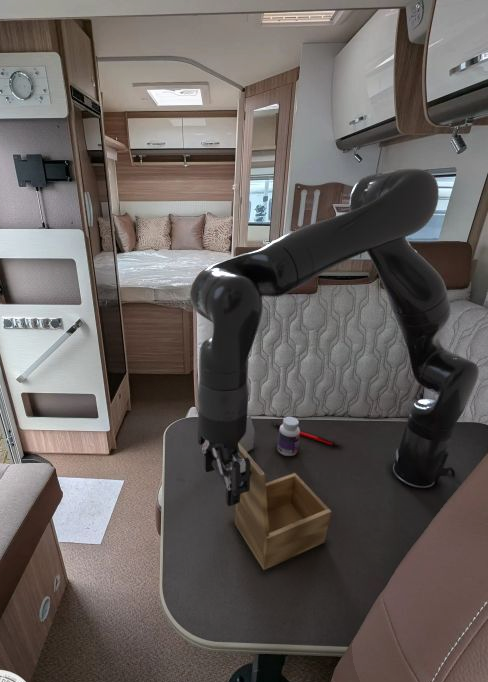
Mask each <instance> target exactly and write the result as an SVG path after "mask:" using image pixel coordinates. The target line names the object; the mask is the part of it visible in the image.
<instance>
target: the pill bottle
mask: <svg viewBox="0 0 488 682" xmlns="http://www.w3.org/2000/svg"><path fill="white" fill-rule="evenodd" d="M299 422H300V421H299V420H298V419H297V418H296V417H294V416H286V417H284V418H283V420H282V424H280V425H281V426H280V428H279V429H278V437H277V439H278V440H277V448H276V449H277V452H278V453H279V454H281V455H282V456H285V457H292V456H295V455H296V454H297V453H298V448H299V442H300V436H301V435H300V432H301V429H300V427H299Z"/></svg>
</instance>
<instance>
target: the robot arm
mask: <svg viewBox="0 0 488 682" xmlns="http://www.w3.org/2000/svg"><path fill="white" fill-rule="evenodd" d="M438 184H439V183H438V180H437V179H436V177H435V175H433V174H432V173H431V172H429V171H428V170H426V169H421V168H403V169H397V170H390V171H383V172H376V173H372V174H368V175H365V176H364V177H362V178H360V179H359V180H358V181H357V182H356V183H355V185H354V186H353V188H352V191H351V194H350V197H349V205H348V208H349V210H348V212H345V213H343V214H339V215H336V216H333V217H330V218H327V219H324V220H320V221H316V222H314V223H311V224H308V225H305V226H303V227H299V228H298V229H296V230H294V231H292V232H289V233H287V234H285V235H283V236H281V237H279V238H278V239H276V240H274V241H271V243H269V244H267V245H264V246H263V247H261V248H260V249H258V250H254V251H251V252H248V253H243V254H239V255H237V256H234V257H230V258H228V259H224V260H222V261H219V262H217V263H215V264H212V265H210V266H209V267H207V268H205V269H204V270H203V271H201V272H200V273H199V274H198V275H197V276H196V278H195V279H194V280H193V281H192V284H191V287H190V291H189V300H190V304H191V306H192V307H193V308H192V309H194V310H195V312H197V314H198V315H200V316H201V317H202V318H204V319H207V320H208V321H210V322H211V323H212V327H213V329H212V336H210V337H209V338H206V339H205V340H204V341H203V342H202V343H201V345H200V347H199V354H198V370H199V371H198V388H197V423H198V424H197V443H198V445H199V446H201V452H202V454H204V455H203V459H204V460H203V465H204V466H203V468H204V471H205V472H206V473H209V472H210V473H211V472H213V471H215V469H214V468H213V466H212V461H213V460H214V459H215V458H216V459H217V463H218V467H219V471H220V474H221V475H222V476H224V478H225V482H226V486H225V503H226V505H227V506H228V507H232V506H234V505H236V504H237V503H239V502H240V494H242V493H244V492H247V491H249V490H250V460H249V458H248V457H246V458H243V459H242V458H241V456H240V455H239V447H238V443H239V441H240V440H241V439H242V437H243V436H244V435H245V433H246V427H247V416H248V409H249V408H248V405H249V386H248V385H249V384H248V378H249V377H248V376H249V356H250V352H251V351H252V348H253V345H254V342H255V339H256V336H257V333H258V330H259V327H260V325H261V321H262V317H263V311H264V303H263V297H270V298H278V297H282V296H284V295H286V294H288V293H291V292H292V291H294V290H296V289H297V288H299V287H301V286H302V285H304V284H306V283H307V282H309V281H311V280H313V279H315V278H316V277H318V276H320V275H321V274H323V273H325V272H326V271H329V270H330V269H332V268H335V267H336V266H338V265H340V264H342V263H344V262H347V261H349V260H351V259H353V258H354V257H357V256H359V255H361V254H364V253H367V255H368V256H369V258H370V260H371V262H372V264H373V266H374V268H375V270H376V272H377V275H378V277H379V279H380V283H381V284H382V286H383V289H384V291H385V293H386V296H387V298H388V302H389V306H390V308H391V310H392V314H393V315H394V318H395V321H396V322H397V325H398V327H399V329H400V332H401V335H402V338H403V341H404V343H405V346H406V349H407V354H408V357H409V363H410V366H411V372H412V376H413V377H414V379H415V381H416V382H417V383H418V384H419V385H420V386H421V387H423V388H425V389H427V390H429V391H430V392H432V393H434V394H436V395H437V399H436V398H435V399H434V398H421V399H417V400H415V401H414V402H413V403H412V405H411V408H410V412H409V415H408V418H407V421H406V423H405V424H406V425H405V428H404V431H403V435H402V438H401V441H400V444H399V447H398V448H396V451H395V456H396V457H395V460H394V463H393V466H392V473H393V475H394V476H395V477H396V479H397V480H398V481H399V482H401V483H403V484H405V485H407V486H408V487H411V488H415V489H420V490H426V489H430V488H432V487H433V486H434V484H438V483H439V480H440V478H441V477H447V476H448V474H449V471H450V472H451V476H452V477H453V478H454V477H456V471H455V470H454V468H453V467H451V466H449V465H448V464H446V461H447V459H448V456H449V454H450V452H449V450H448V446H449V444H450V441H451V439H452V435H453V433H454V430H455V427H456V425H457V422H458V420H459V419H460V418H461V416H462V414H463V413H464V411H465V409H466V407H467V405H468V402H469V400H470V397H471V396H472V393H473V391H474V389H475V387H476V385H477V382H478V379H479V374H480V369H479V365H478V364H477V363H475V362H474V361H472V360H470V359H468V358H465V357H463V356H460V355H458V354H456V353H453V352H452V351H448V350H447V349H446V348H445V347H444V346H443V345H442V343H441V340H440V338H439V334H440V333H441V332H442V330H443V329H444V328H445V327H446V325H447V323H448V322H449V320H450V317H451V314H452V313H451V311H452V308H451V302H450V298H449V293H448V290H447V286H446V284H445V281H444V279H443V278H442V275H441V274H439V272H438V271H437V270H436V269H435V267H433V265H431V264H430V263H429V262H428V261H427V260H426V258H424V257H423V256H422V255H421V254H420V253H419V252H418V251H417V250H416V249H414V248H413V246H412V245H411V244H410V243H409V241H408V240H407V238H406V237H409V236H411V235H414V234H416V233H418V232H419V231H421V230H422V229H423V228H424V227H426V226H427V225H428V223H429V222H430V221H431V220H432V218H433V216H434V214H435V212H436V210H437V208H438V204H439V203H438V202H439V198H440V197H439V196H440V194H439V193H440V191H439V185H438ZM231 463H232V466H231ZM224 465H226V466H227V465H230V467H228V469H225V468H224ZM230 474H232V481H231V480H230Z"/></svg>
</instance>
